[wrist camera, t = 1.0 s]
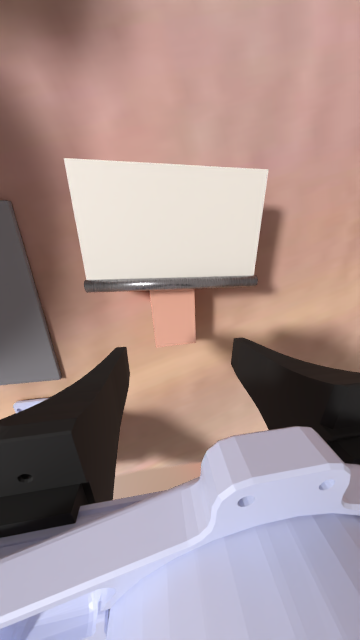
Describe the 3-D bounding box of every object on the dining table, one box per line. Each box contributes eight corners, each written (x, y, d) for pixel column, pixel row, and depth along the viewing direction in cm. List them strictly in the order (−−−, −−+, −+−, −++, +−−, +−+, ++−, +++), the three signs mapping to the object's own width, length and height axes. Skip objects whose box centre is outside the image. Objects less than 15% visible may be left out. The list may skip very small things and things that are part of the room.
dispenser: (231, 278, 20) (256, 288, 15) (102, 282, 18) (85, 294, 13) (239, 188, 17) (274, 165, 12) (87, 182, 15) (58, 152, 10)
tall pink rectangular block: (189, 330, 21) (195, 342, 19) (155, 334, 21) (156, 347, 18) (187, 257, 18) (193, 259, 16) (146, 260, 18) (146, 263, 15)
